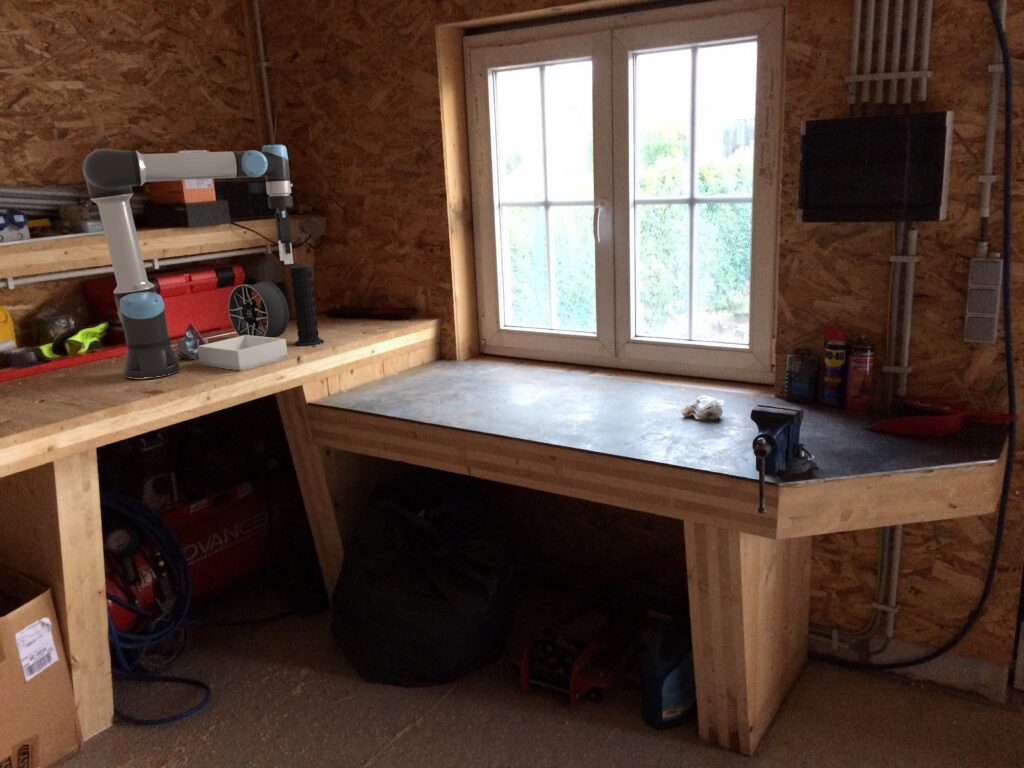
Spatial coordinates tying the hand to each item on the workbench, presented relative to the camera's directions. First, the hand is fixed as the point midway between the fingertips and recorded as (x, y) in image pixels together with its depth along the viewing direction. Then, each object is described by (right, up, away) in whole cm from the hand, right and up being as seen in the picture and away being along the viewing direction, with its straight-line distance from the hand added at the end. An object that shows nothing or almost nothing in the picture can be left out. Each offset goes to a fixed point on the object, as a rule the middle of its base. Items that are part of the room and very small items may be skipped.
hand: (286, 262), depth 278 cm
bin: (-9, -33, -15) cm, 37 cm away
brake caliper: (-28, -31, -5) cm, 42 cm away
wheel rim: (-13, -25, +18) cm, 33 cm away
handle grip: (+5, -26, +8) cm, 28 cm away
